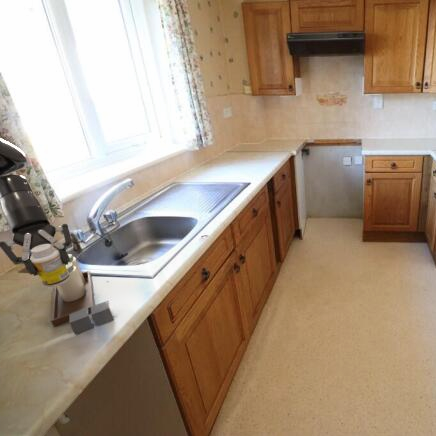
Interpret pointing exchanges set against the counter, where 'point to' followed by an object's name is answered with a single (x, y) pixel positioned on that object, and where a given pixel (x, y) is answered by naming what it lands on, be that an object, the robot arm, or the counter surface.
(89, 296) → the tray
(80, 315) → the grey blocks
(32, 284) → the counter surface
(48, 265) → the supplement bottle
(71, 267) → the cream bottles
